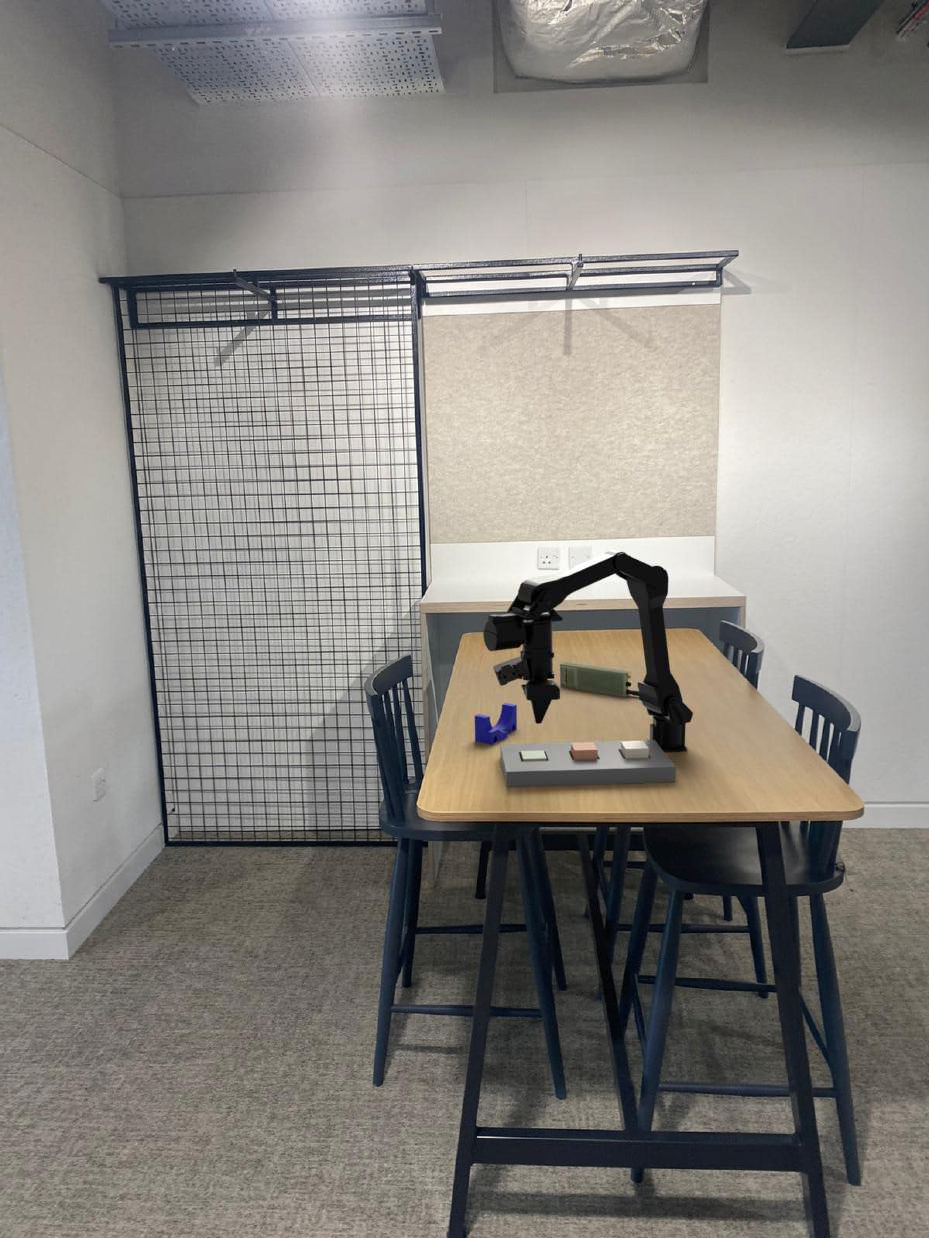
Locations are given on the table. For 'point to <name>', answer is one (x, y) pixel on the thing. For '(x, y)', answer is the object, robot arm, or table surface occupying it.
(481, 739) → the cable clip
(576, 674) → the handheld radio
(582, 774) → the keypad
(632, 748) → the cream key
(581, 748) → the peach square block
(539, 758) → the sage key
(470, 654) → the table surface
